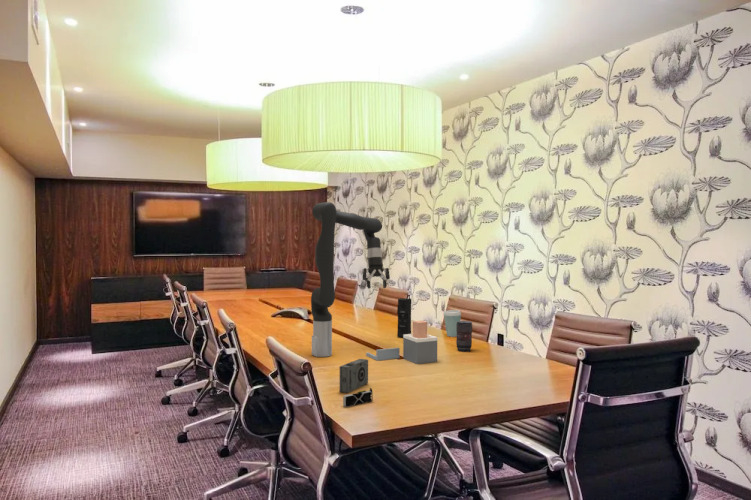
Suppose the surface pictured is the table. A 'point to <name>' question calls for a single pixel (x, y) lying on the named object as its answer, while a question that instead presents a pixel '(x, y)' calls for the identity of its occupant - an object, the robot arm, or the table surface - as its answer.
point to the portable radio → (404, 316)
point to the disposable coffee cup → (451, 321)
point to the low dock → (385, 354)
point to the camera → (353, 375)
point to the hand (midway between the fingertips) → (377, 288)
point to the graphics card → (357, 398)
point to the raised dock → (420, 349)
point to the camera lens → (464, 336)
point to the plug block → (419, 329)
